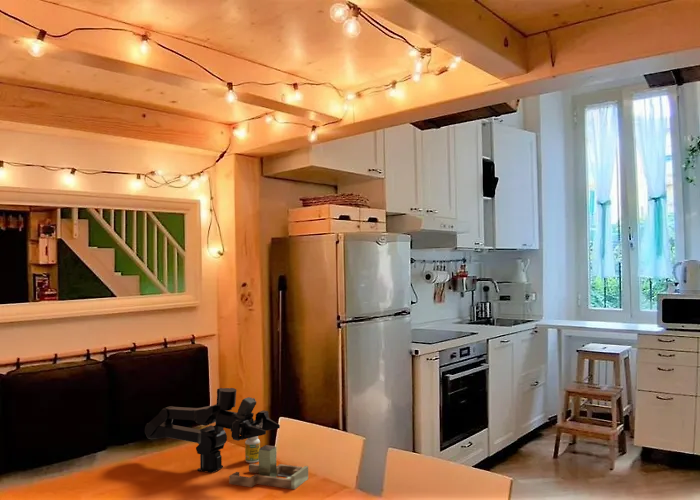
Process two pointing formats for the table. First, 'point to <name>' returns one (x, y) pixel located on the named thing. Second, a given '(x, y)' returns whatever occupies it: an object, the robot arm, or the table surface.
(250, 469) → the trap lane
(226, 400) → the robot arm
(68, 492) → the table surface
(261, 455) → the olive tin
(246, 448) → the supplement bottle
